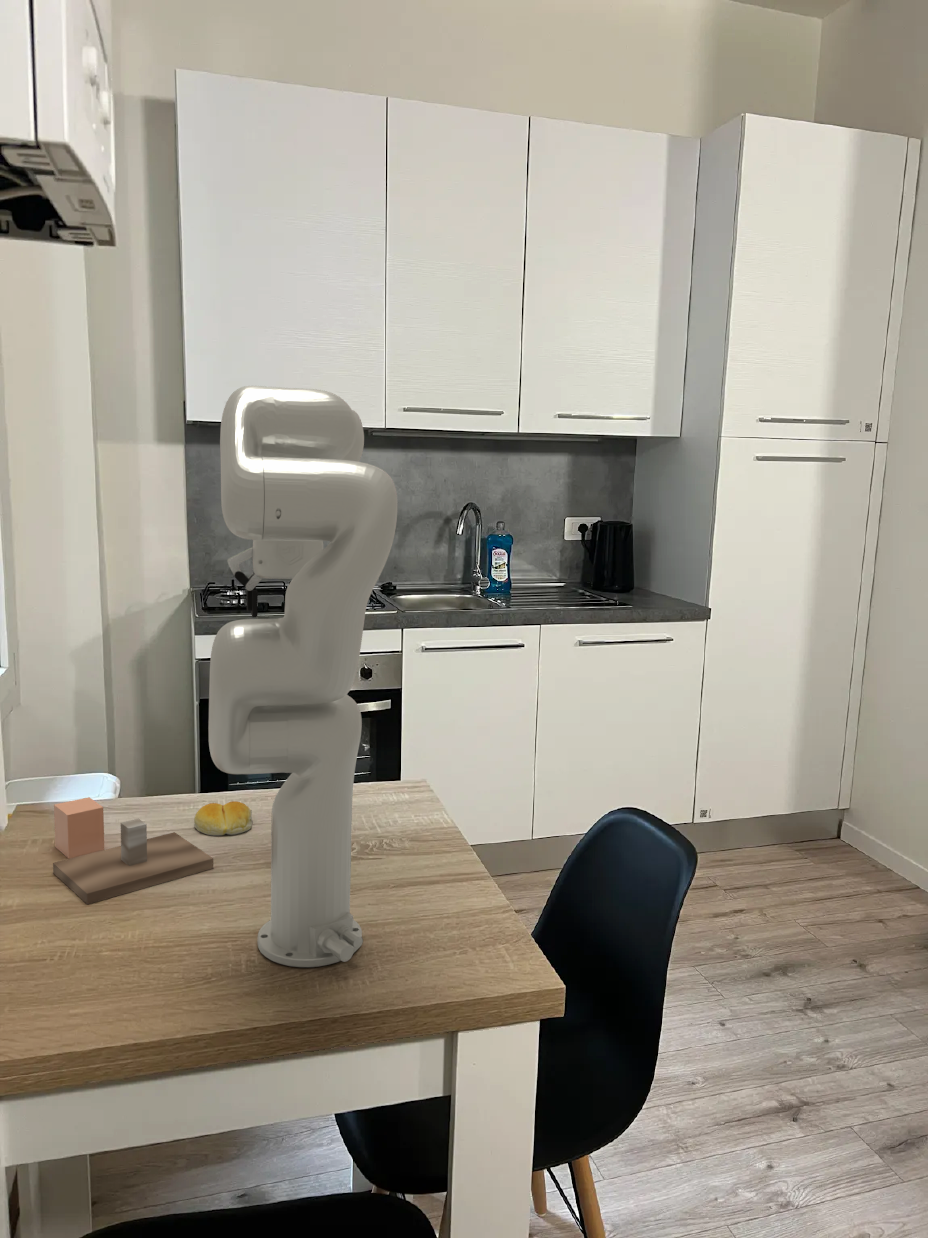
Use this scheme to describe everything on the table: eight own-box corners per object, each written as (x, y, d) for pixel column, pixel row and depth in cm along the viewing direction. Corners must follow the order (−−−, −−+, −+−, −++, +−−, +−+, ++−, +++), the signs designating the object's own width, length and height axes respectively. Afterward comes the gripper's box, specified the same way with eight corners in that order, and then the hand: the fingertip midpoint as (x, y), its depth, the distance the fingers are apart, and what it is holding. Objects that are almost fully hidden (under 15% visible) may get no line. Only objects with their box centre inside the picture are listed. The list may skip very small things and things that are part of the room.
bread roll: (195, 819, 154) (195, 796, 153) (252, 817, 156) (252, 794, 155) (192, 839, 146) (191, 814, 145) (251, 837, 148) (251, 812, 147)
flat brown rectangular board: (213, 868, 136) (213, 821, 135) (87, 904, 124) (85, 853, 123) (174, 841, 144) (174, 797, 143) (53, 873, 132) (51, 825, 131)
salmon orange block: (104, 849, 141) (103, 807, 139) (68, 858, 137) (67, 815, 136) (90, 838, 144) (89, 797, 143) (55, 847, 141) (53, 804, 140)
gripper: (228, 500, 133) (228, 620, 136) (351, 503, 138) (348, 619, 141) (226, 497, 140) (226, 611, 143) (343, 500, 145) (341, 611, 148)
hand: (287, 615), depth 142 cm, fingers open, 9 cm apart
